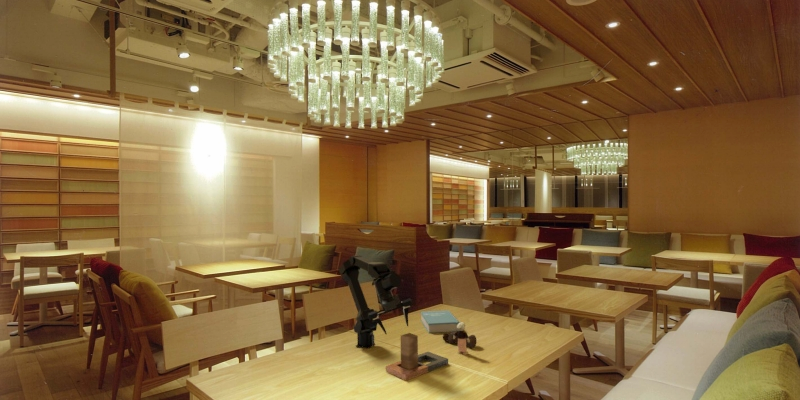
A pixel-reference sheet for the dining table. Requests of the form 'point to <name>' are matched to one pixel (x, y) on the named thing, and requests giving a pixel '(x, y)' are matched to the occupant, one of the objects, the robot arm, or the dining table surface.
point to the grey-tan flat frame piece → (421, 369)
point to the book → (439, 321)
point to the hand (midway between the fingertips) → (397, 330)
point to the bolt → (450, 338)
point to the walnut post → (409, 351)
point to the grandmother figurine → (461, 339)
